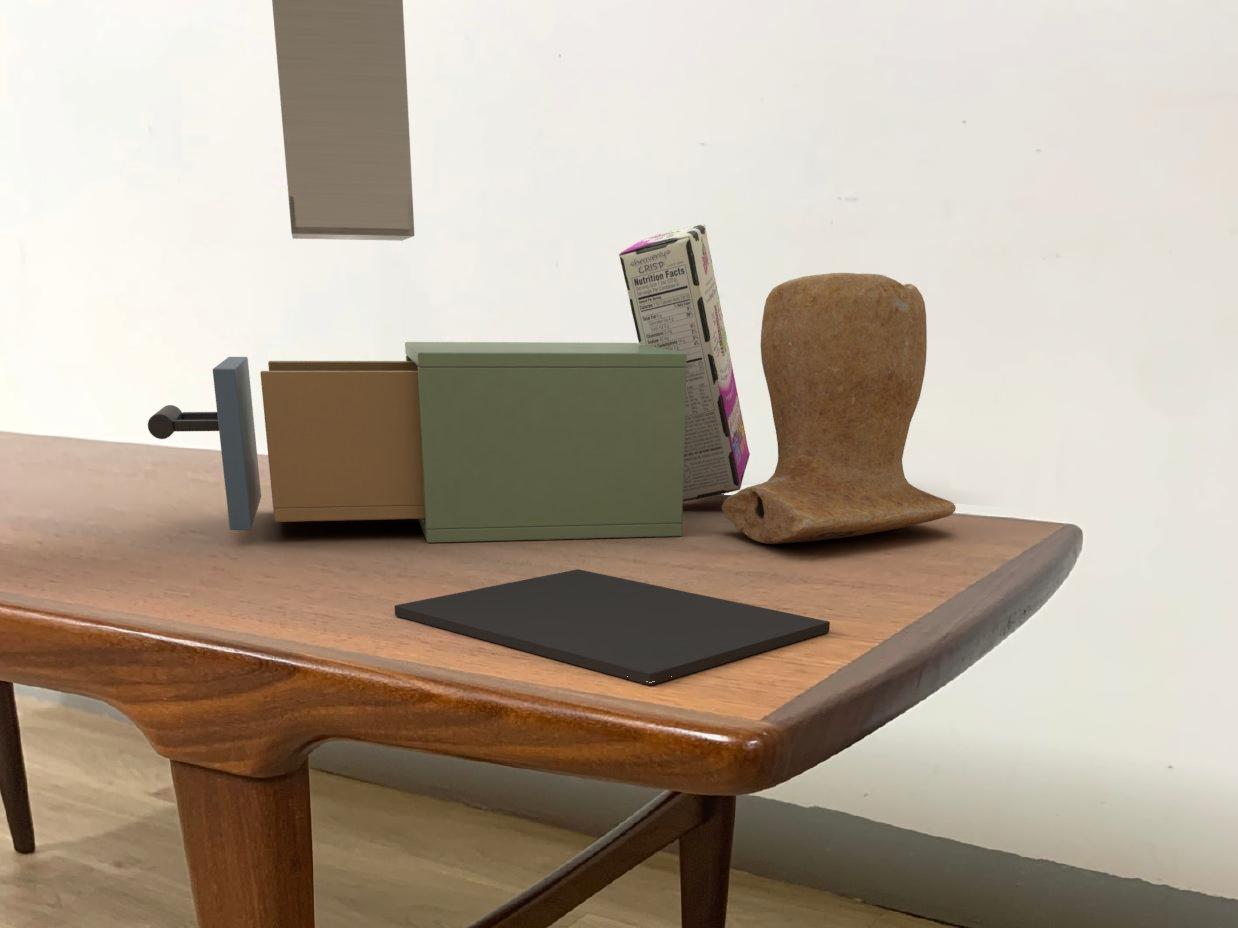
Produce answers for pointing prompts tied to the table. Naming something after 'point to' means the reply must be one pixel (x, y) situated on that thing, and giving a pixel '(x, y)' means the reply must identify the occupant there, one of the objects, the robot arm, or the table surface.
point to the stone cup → (839, 410)
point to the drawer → (316, 439)
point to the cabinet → (550, 440)
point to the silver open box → (345, 118)
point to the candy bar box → (691, 351)
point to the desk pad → (614, 624)
